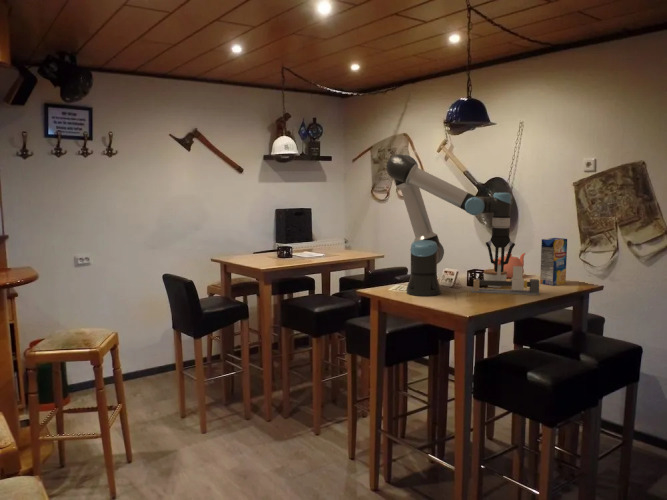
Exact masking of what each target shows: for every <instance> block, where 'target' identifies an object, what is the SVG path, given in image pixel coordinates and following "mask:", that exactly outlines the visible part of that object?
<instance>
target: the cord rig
mask: <svg viewBox="0 0 667 500" xmlns="http://www.w3.org/2000/svg"><path fill="white" fill-rule="evenodd" d="M472 286H473V288H470V289H471V291H470V293H475V294H476V293H477V294H479V293H480V294H499V295H501V294H504V295H505V294H506V295H531V296H533V295H534V296H540V279H538V278H537V279H536V278H535V279H533V278H531V279H529V281H527V280H524V288H525V289H524V290H512V289H500V288H480V286H501V287H511V286H512V281H511V280H506V281H490V280H484V279H482V280H480V279H475V278H474V279H473V285H472ZM527 288H529V290H527Z"/></svg>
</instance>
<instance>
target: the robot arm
mask: <svg viewBox="0 0 667 500" xmlns="http://www.w3.org/2000/svg"><path fill="white" fill-rule="evenodd" d="M385 165H386V166H385V169H386V172H387V175H388V176H389V177H390V178H392V179H393V181H394V183H395V185H396V188H398V189H399V190H400V191H401V195H402V198H403V201H404V206H405V208H406V211H407V214H408V218H409V221H410V224H411V227H412V230H413V233H414V240H413V242H412V243H411V245H410V251H409V252H410V278H409V280H408V283H407V286H406V293H407V294H408V295H410V296H411V295H412V296H416V295H417V296H418V297H419V296H420V297H431V296H439V295H440V294H441V293H442V292H441V286H440V283H439V279H438V276H437V275H438V274H437V273H438V271H437V270H438V264H439V263H441V261H442V260H443V258H444V255H445V249H444V247H443V245H442V243H441V242H440V239H439V236H438V234H437V233H435V232H434V231H433V228H432V224H431V222H430V219H429V215H428V212H427V208H426V204H425V202H424V199H423V195H422V193H421V190H423V191H424V192H425V191H426V192H427V193H429V194H431V195H433V196H435V197H437V198H439V199H441V200H444V201H445V202H448V203H449V204H451V205H453V206H455V207H457V208H460V209H461V210H462V211H465V212H466V213H467V214H468V215H470V216H471V215H472V216H478V215H481V214H488V215H489V214H492V221H491V223H492V224H491V226H492V228H491V238H490V240H488V241H486V242H485V246H486V247H487V251H488V255H489V259H490V263H491V264H494V265H495V272H497V280H500V279H501V272H503V270H504V265H505V264H508V262H509V258H510V255H511V254H512V252H513V249H514V248H515V246H516V243H515V242H513V241H512V240H511V238H510V226H511V213H512V212H511V207H512V195H511V193H510V192H494V193H493V196H476V195H474V194H472V193H470V192H468V191H466V190H464V189H461V188H459V187H458V186H456V185H454V184H452V183H449V182H448V181H446V180H443V179H441V178H440V177H438V176H435V175H433V174H431V173H429V172H428V171H425V170H423V169H421V168H419V165H418V162H417V161H416V159H414V157H412V156H411V155H407V154H401V153H399V154H397V153H396V154H394V155H392V156H390V157H389V159H388V160H387V162H386V164H385ZM492 245H493V246H494V248H495V249H494V251H495V252H494V254H495V255H494V257H493V252H492V248H491V246H492ZM507 246H509V248H508V250H507V253H506V254H507V257H506V260H505V261H504V256H505V249H506V247H507ZM499 248H500V249H499ZM499 250H500V252H501V253H500V257H501V265H498V258H499ZM494 259H495V261H493V260H494ZM494 265H493V266H494Z"/></svg>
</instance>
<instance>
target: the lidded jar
mask: <svg viewBox="0 0 667 500" xmlns="http://www.w3.org/2000/svg"><path fill="white" fill-rule="evenodd" d="M506 277H507V271H506V270H503V272H501V279H500V280H497V272H495V267H494V266H493V268H490V269H489V268H488V269H484V270H483V280H490V281H507V278H506ZM488 288H490V289H500V288H502V286H488Z"/></svg>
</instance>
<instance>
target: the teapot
mask: <svg viewBox="0 0 667 500" xmlns="http://www.w3.org/2000/svg"><path fill="white" fill-rule="evenodd" d="M525 256H526V252H524V253H522V254H521V255H520V256H519V257H518V256H513V254H512V253H511V255H510V258H509V262H508V264H505V265H504V270H506V271H507V277H506V279H511V278H513V266H523V267H524V266H525V264H524V262H525V260H524V258H525ZM506 257H507V253H505V255H504V261H505V260H506ZM493 261H495V258H493ZM492 264H493V263H492ZM498 265H501V256H500V257H499V256H498ZM494 267H495V265H494V264H493V268H494ZM524 273H525V271H524V268H523V274H524Z"/></svg>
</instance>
